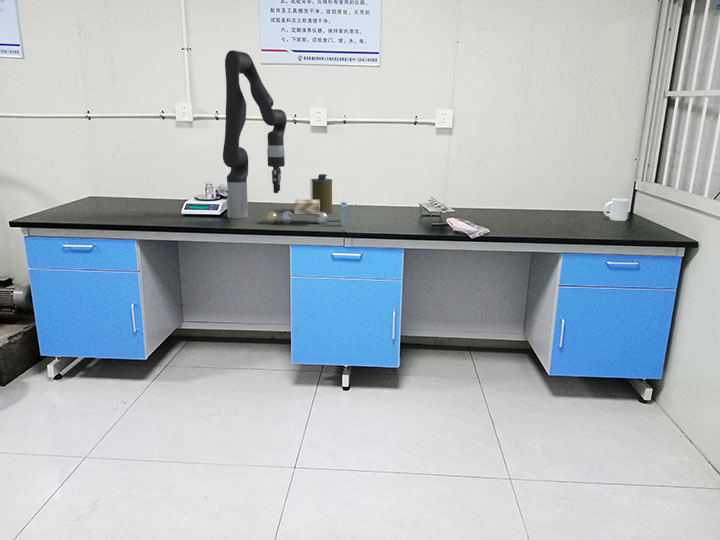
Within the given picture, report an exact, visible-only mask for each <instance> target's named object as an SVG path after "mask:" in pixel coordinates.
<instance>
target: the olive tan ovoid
mask: <svg viewBox="0 0 720 540" xmlns="http://www.w3.org/2000/svg"><path fill="white" fill-rule="evenodd" d="M278 218H279V217H278V214H277V212H275V211H273V210H272V211H269V212H268V213H267V214H266V216H265V219H264V220H265V222H266V223H267V224H268V225H273V224H275V223H276V222H277V220H278Z"/></svg>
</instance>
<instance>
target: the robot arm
mask: <svg viewBox="0 0 720 540" xmlns="http://www.w3.org/2000/svg"><path fill="white" fill-rule="evenodd" d="M224 68H225V69H224V70H225V71H224V73H225V88H226V89H225V90H226V92H225V95H226V96H225V98H226V99H225V100H226V101H225V126H224V127H225V128H224V129H225V130H224V132H225V133H224V141H223V142H224V143H223V149H222V160H223V163H224V164H225V166H226V167H228V168H230V172H229V173H228V174H227V176H226V187H227V188H226V189H227V190H226V191H227V198H226V207H227V209H226V212H227V213H226V214H227V219H235V220H237V219H238V220H239V219H240V220H241V219H247V218H249V211H248V210H249V207H248V202H249V201H248V182H247V181H248V175H249V155H248V152H247V150H246V149H245V148H244V147H242V146H240V138H241V137H240V136H241V134H242V131H243V128H244V126H245V124H246V120H247V101H246V99H245V96H244V93H243V91H242V89H241V85H240V74H241V75H242V74H243V76H244V77H245V78H246V79H247V81H248V82H249V89H250V94H251V97H252V98H253V100H254V102H255V104H256V105H257V106H258V108H259V112H260V114H261V118H262V121H263V122H264V123H265V124H266V125H267V126H271V127H272V128H273V129H272V130H271V131H269V132H268V133H267V149H266V151H267V166H268V167H270V168H271V167H272V168H273V169H272V170H271V179H272V181H271V183H272V185H273V190H272V191H273V193H274V194H278V193H279V192H280V191H281V180H282V169H281V167H283V168H284V167H285V159H286V158H285V146H284V144H285V143H284V136H285V135H284V134H285V131H286V126H287V120H288V119H287V115H286V112H285V111H284V110H282V109H276V108H275V109H274V108H272V107H273V106H274V100H273V98H272V96H271V94H270V93H269V92H268V90H267V89H266V87H265V85H264V83H263V82H262V79H261V77H260V75H259V73H258V69H257V67H256V65H255V64H254V61H253V59H252V57H251V56H250V55H249V54H248V53H247V52H243V51H239V50H228V52H227V53H226V55H225V59H224Z"/></svg>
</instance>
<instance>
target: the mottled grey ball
mask: <svg viewBox="0 0 720 540" xmlns="http://www.w3.org/2000/svg"><path fill="white" fill-rule="evenodd" d="M293 219H294V214H293V212H292V211H290V210H286V211H284V212H283V214H282V215H281V217H280V220H281V222H282V224H284V225H289V224H291V223H292V221H293Z"/></svg>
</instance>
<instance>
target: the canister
mask: <svg viewBox="0 0 720 540" xmlns="http://www.w3.org/2000/svg"><path fill="white" fill-rule="evenodd" d="M327 176H328V174H326V173H325V174H324V173H319V174H318V177H317V178H311V200H320V212H321V211H323V212H325V213H326V214H327V216H329V215H328V214H330V215H332V214H333V181H334V180H333V179H331V178H327Z"/></svg>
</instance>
